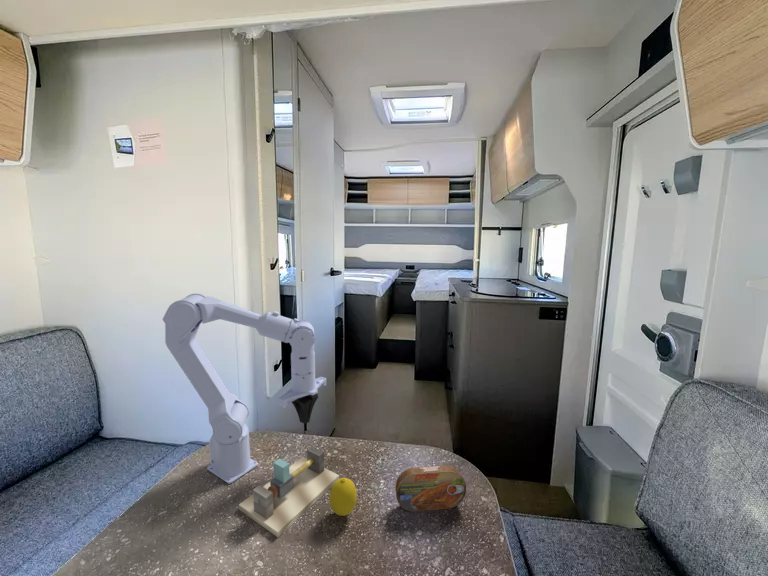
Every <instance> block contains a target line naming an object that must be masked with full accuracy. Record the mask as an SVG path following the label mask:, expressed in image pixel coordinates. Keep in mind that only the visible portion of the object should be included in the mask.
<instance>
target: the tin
mask: <svg viewBox="0 0 768 576" xmlns="http://www.w3.org/2000/svg"><path fill="white" fill-rule="evenodd" d="M466 494H467V484H466V481H465V479H464V477H462V474H461V472H459V470H458V469H456V467H454V466H451V465H435V466H433V465H431V466H421V467H410V468H407V469H405V470H403V471H402V472H401V473H400V474H399V476H398V477H397V479H396V481H395V496H396V497H395V498H396V501H397V503H398V504H399V506H400V508H401V507H402V509H404V510H406V511H408V512H412V513H413V512H414V513H415V512H424V511H425V512H426V511H427V512H428V511H436V510H437V511H438V510H448V509H453V508H456V506H458V505H459V504H461V503H462V501H464V499H465V496H466Z"/></svg>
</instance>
